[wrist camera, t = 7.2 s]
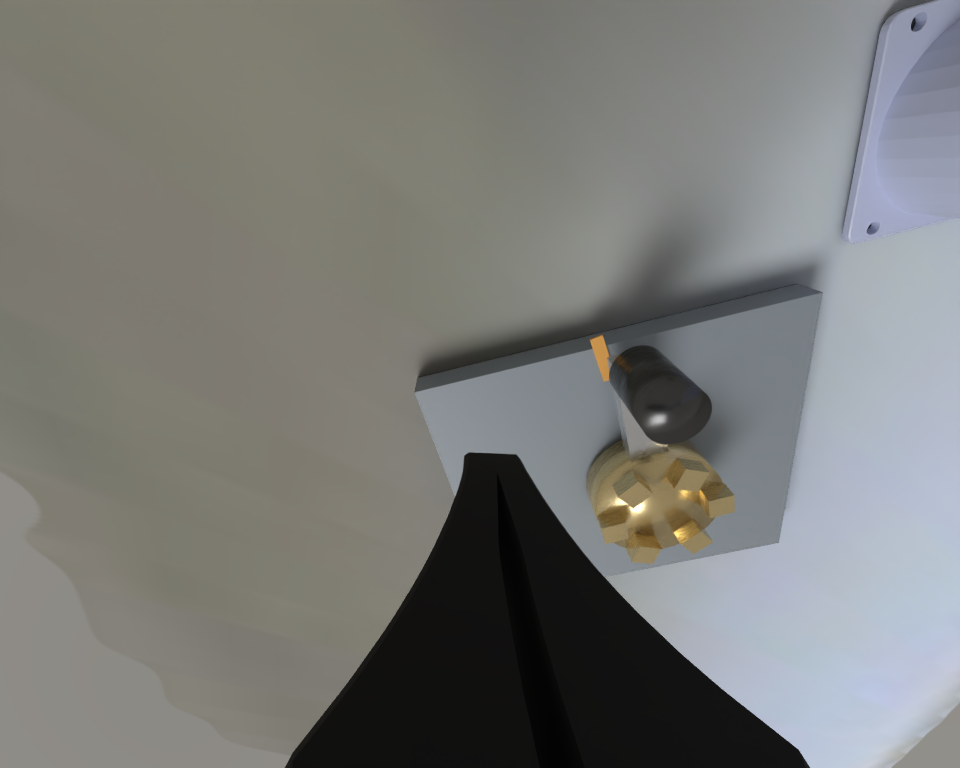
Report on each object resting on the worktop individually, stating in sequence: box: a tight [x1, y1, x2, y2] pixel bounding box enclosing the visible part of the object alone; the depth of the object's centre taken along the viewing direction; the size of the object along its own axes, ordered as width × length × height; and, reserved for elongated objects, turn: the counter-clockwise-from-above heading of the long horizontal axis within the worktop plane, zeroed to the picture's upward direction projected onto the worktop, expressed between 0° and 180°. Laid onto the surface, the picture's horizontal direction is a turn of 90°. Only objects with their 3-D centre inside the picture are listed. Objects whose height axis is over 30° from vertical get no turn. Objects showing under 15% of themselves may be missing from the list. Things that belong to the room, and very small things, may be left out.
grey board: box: [415, 284, 823, 577], centre depth 23 cm, size 19×18×2 cm
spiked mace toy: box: [586, 345, 735, 564], centre depth 18 cm, size 12×6×5 cm, turn 18°
